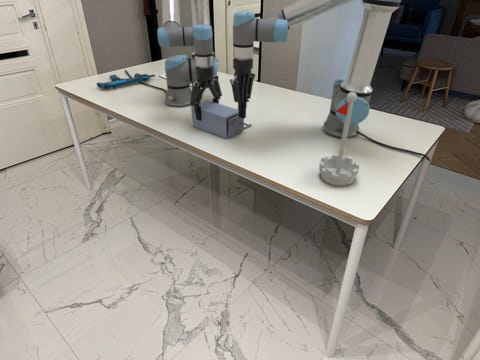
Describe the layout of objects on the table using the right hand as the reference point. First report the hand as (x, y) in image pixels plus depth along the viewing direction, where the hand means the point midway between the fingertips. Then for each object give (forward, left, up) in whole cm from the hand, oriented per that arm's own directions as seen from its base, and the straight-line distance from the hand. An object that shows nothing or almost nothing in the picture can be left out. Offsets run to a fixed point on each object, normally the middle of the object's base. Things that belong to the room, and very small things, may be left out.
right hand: (242, 117), depth 139 cm
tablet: (+93, -4, -9) cm, 93 cm away
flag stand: (-42, -16, -9) cm, 46 cm away
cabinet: (+14, +6, -9) cm, 18 cm away
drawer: (+9, +4, -8) cm, 13 cm away
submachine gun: (+102, +32, -9) cm, 107 cm away
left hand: (+18, +9, -5) cm, 21 cm away
